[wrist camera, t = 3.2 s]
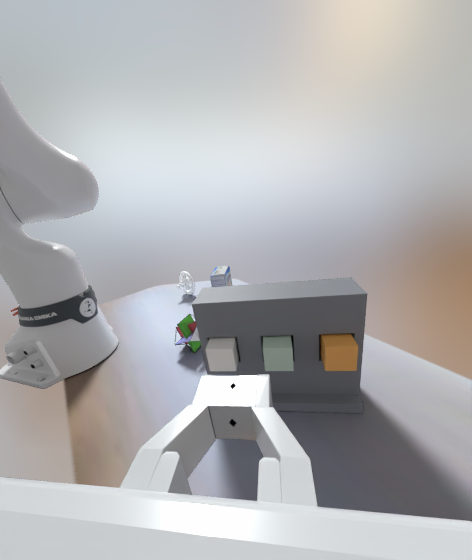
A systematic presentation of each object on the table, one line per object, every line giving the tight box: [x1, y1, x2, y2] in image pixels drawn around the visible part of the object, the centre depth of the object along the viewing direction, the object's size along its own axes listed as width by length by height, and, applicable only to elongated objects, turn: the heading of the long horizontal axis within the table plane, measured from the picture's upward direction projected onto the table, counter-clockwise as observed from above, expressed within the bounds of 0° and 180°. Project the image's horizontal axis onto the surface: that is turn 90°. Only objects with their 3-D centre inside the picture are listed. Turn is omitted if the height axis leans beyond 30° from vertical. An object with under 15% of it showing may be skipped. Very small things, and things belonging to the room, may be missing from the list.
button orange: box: [320, 333, 358, 371], centre depth 27 cm, size 3×3×3 cm
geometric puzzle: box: [175, 314, 201, 353], centre depth 45 cm, size 7×7×8 cm
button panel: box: [192, 278, 367, 413], centre depth 31 cm, size 20×7×16 cm, turn 82°
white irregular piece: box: [176, 271, 195, 295], centre depth 71 cm, size 8×6×8 cm
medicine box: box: [210, 266, 232, 287], centre depth 66 cm, size 8×4×9 cm, turn 174°
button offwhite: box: [205, 337, 239, 371], centre depth 29 cm, size 3×3×3 cm
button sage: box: [263, 335, 294, 371], centre depth 28 cm, size 3×3×3 cm
